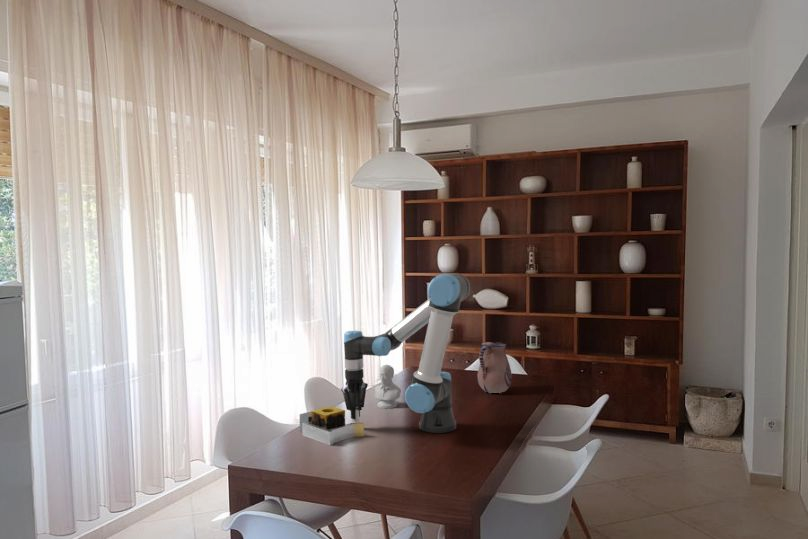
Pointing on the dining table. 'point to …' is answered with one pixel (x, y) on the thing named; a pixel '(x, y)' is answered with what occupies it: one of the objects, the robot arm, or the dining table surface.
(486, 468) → the dining table surface
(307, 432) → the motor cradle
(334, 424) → the yellow and black cube
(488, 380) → the ceramic pitcher
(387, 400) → the figurine
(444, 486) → the dining table surface
